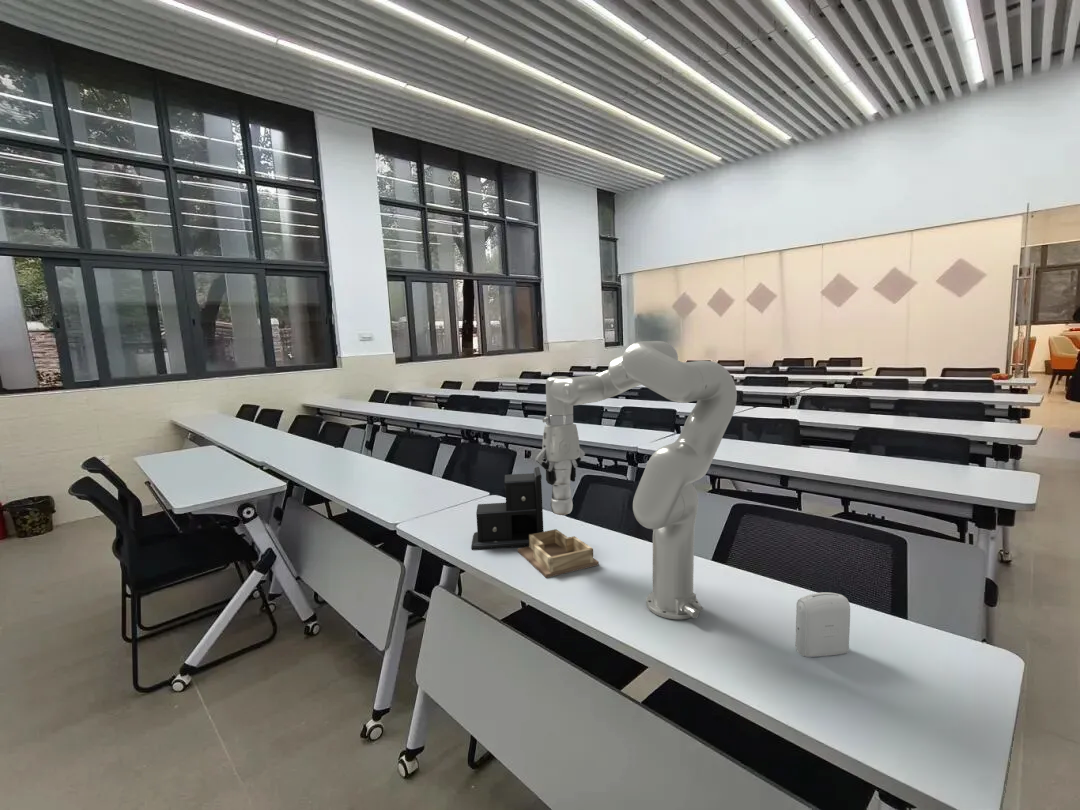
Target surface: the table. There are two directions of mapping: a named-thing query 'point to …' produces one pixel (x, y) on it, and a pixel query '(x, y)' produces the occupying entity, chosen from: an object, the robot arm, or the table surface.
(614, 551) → the table surface
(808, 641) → the photo printer
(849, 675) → the table surface
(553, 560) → the keyhole plate
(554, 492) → the plastic bottle
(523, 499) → the black drawer cabinet
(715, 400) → the robot arm
